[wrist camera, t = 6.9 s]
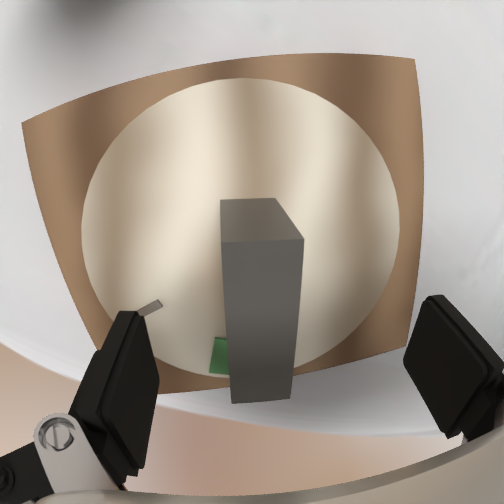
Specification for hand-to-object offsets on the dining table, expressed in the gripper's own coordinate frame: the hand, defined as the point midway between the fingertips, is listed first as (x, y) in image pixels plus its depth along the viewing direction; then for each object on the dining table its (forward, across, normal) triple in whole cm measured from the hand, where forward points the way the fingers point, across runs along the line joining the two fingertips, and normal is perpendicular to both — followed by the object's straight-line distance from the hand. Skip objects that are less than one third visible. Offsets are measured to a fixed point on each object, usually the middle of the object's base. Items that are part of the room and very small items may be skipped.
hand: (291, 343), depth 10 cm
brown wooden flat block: (+11, +1, 0) cm, 11 cm away
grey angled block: (+7, +1, +3) cm, 7 cm away
